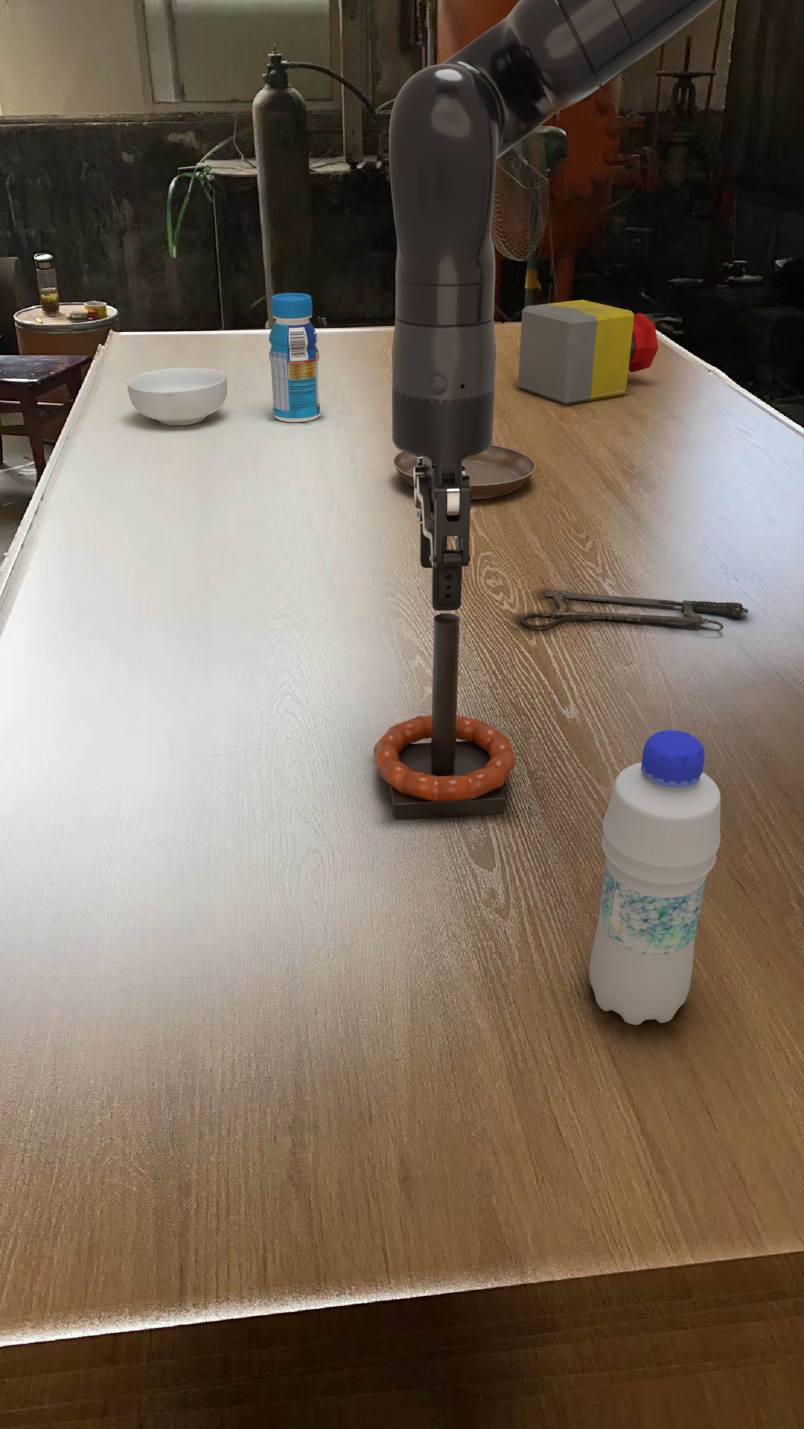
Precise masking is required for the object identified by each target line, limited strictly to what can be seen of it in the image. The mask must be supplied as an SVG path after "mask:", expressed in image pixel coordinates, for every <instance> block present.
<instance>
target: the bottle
mask: <svg viewBox="0 0 804 1429" xmlns="http://www.w3.org/2000/svg"><path fill="white" fill-rule="evenodd" d="M705 758H706V756H705V748H704V746H703V744H702V743H701V741H700V740H699V739H698V738H697V737H695V736H694V735H692V734H690V733H688V732H685V731H680V730H676V729H665V730H660V731H657V732H654V733H653V734H652V735H650V736H649V738H647V740H646V741H645V743H644V746H643V748H642V756H641V761H640V762H636V763H634V764H631V765H628V766H627V767H625V768H624V769H622V771H620V773H619V774H617V777H616V779H615V781H614V784H613V788H612V792H611V795H610V798H609V802H608V806H607V810H606V812H605V815H604V818H603V821H602V831H603V835H602V837H601V846H602V847H601V848H602V851H603V854H604V855H605V862H604V871H603V880H602V888H601V895H600V902H599V903H600V904H599V913H598V920H597V927H596V930H595V936H594V940H593V943H592V950H591V953H590V960H589V966H588V967H589V968H588V978H589V979H588V981H589V985H590V986H591V988H592V991H593V994H594V997H595V1002H596V1004H597V1005H598V1007H599V1008H600V1009H601V1010H602V1011H604V1012H609V1011H613V1012H615V1013H617V1014H619V1015H620V1016H621V1018H622V1019H623V1021H624V1022H625V1023H627V1024H630V1025H634V1026H639V1025H641V1024H642V1023H643V1022H644V1021H648V1020H649V1021H651V1020H656V1021H657V1022H658V1023H660V1024H663V1023H667V1022H670V1021H671V1020H673V1018H674V1017H675V1015H676V1013H677V1011H678V1010H679V1009H680V1008H681V1006H683V1005H684V1004H685V1002H686V1000H687V999H688V996H689V992H690V987H691V982H692V975H693V968H694V966H693V965H694V954H695V942H696V935H697V932H698V925H699V921H700V915H701V910H702V905H703V900H704V893H705V887H706V883H707V882H706V881H707V876H708V874H709V873H710V872H711V871H712V870H713V868H714V866H715V864H716V861H717V852H718V850H719V848H720V845H721V801H722V800H721V792H720V789H719V787H718V785H717V784H716V782H715V781H714V780H713V779H712V778H711V777H710V776H709V775H707V774H706V773H705V772H704V765H705Z"/></svg>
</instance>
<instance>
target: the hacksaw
mask: <svg viewBox="0 0 804 1429" xmlns="http://www.w3.org/2000/svg"><path fill="white" fill-rule="evenodd" d="M544 596H545V598H553V599H554V602H555V604H556V605H557V606H558V609H556V611H555V612H553V611H552V612H549V613H544V612H543V613H542V612H538V613H536V612H531V613H528V614H525V615H522V617H520V622H521V624H522V625H523V626H525V627H528V628H530V629H546V628H549V627H552V626H554V625H556V624H558V623H560V622H564V621H571V620H574V621H582V620H583V621H586V622H590V621H593V620H608V621H613V620H614V621H627V622H629V621H630V622H638V623H640V622H646V623H653V624H654V623H660V624H674V625H681V626H694V628H696V629H699V630H702V631H707V632H720V631H722V630H723V629H724V625H723V623H722V622H720V621H718V620H713V619H708V618H707V617H706V618H704V617H703V616H702V615H700V614H697V613H696V612H700V613H701V612H702V613H710V614H718V615H726V616H728V617H733V618H734V617H735V618H740V617H742V614H747V613H749V611H750V610H749V609H748V608H745V607H743V606H744V605H743V604H742V602H732V601H730V602H729V601H725V602H724V601H723V602H720V601H719V602H717V601H706V600H705V601H704V600H698V601H696V600H682V602H681V601H676V600H669V599H655V598H642V597H627V596H615V595H603V594H600V595H599V594H588V593H578V592H577V593H576V592H574V593H573V592H567V591H564V590H563V591H562V590H561V591H560V590H557V591H550V590H549V591H548V590H547V591H546V592H545V595H544ZM571 599H572V600H573V599H574V600H584V601H585V600H586V601H597V602H598V601H599V602H608V603H609V602H612V603H625V604H636V605H637V604H638V605H650V606H651V605H652V606H664V607H681V609H677V612H679V611H682V610H683V614H684V616H676V615H675V616H673V615H655V614H638V613H637V614H636V613H635V614H634V613H633V614H632V613H615V612H599V611H598V612H595V611H585V612H584V611H568V607H567V605H566V602H569V601H570V600H571ZM564 601H565V602H564ZM531 617H544V618H545V617H549V618H552V619H555V620H552V621H551V622H548V623H545V624H544V623H543V624H532V623H529V622H526V620H525V619H528V618H531ZM708 624H713V625H718V626H719V628H718V629H705V628H700V627H698V626H700V625H708Z"/></svg>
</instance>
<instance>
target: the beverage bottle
mask: <svg viewBox="0 0 804 1429" xmlns="http://www.w3.org/2000/svg"><path fill="white" fill-rule="evenodd" d="M270 302H271V316H272V318H273V319H275V321H274V323H273V324H272V327H271V329H270V332H269V336H268V342H269V343H270V349H269V352H268V359H269V362H270V372H271V389H272V414H273V417H274V418H275V419H276V420H278V421H281V422H287V423H305V422H311V421H314V420H317V418H319V417H320V416H321V407H320V394H319V393H320V391H319V390H320V389H319V360H320V351H319V349H318V348H317V342H318V340H319V339H318V338H319V337H318V334H317V330H316V329H315V327H314V325H313V324H312V322H311V321H310V319H311V318H312V317H313V299H312V296H311V295H310V294H307V293H302V292H301V293H300V292H286V293H285V292H284V293H277V294H274V295H272V296H271V301H270Z"/></svg>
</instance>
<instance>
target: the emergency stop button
mask: <svg viewBox="0 0 804 1429" xmlns="http://www.w3.org/2000/svg"><path fill="white" fill-rule="evenodd" d="M519 342H520V345H519V361H518V375H517V376H518V378H517V387H518V388H519V389H520V390H522V391H525V392H527V393H530V394H533V395H536V396H539V397H542V398H544V399H548V400H551V401H554V402H557V403H560V404H562V405H565V406H569V405H574V404H575V405H576V404H580V403H587V402H592V401H597V400H603V399H610V398H615V397H616V398H617V397H621V396H624V395H625V394H626V393H627V387H628V376H629V373H635V372H639V371H642V370H643V371H644V370H646V369H649V368H651V366H652V364H653V363H654V362H653V361H654V360H655V358H656V357H655V356H656V354H657V353H658V350H659V342H658V337H657V330H656V325H655V324H654V322H652V321H651V320H650V319H649V318H648V317H646V315H645V314H644V313H643V312H642V313H641V312H639V313H634V312H633V311H632V310H629V309H624V308H620V307H615V306H611V305H607V304H604V303H603V304H602V303H598V302H594V301H590V300H585V299H577V300H568V301H561V302H552V303H543V304H536V305H535V304H534V305H526V306H524V308H523V309H522V310H521V324H520V341H519ZM624 389H626V391H623V392H618V393H612V394H606V395H600V394H603V393H609V392H613V391H617V390H624ZM597 395H600V396H597ZM591 396H594V397H591Z"/></svg>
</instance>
